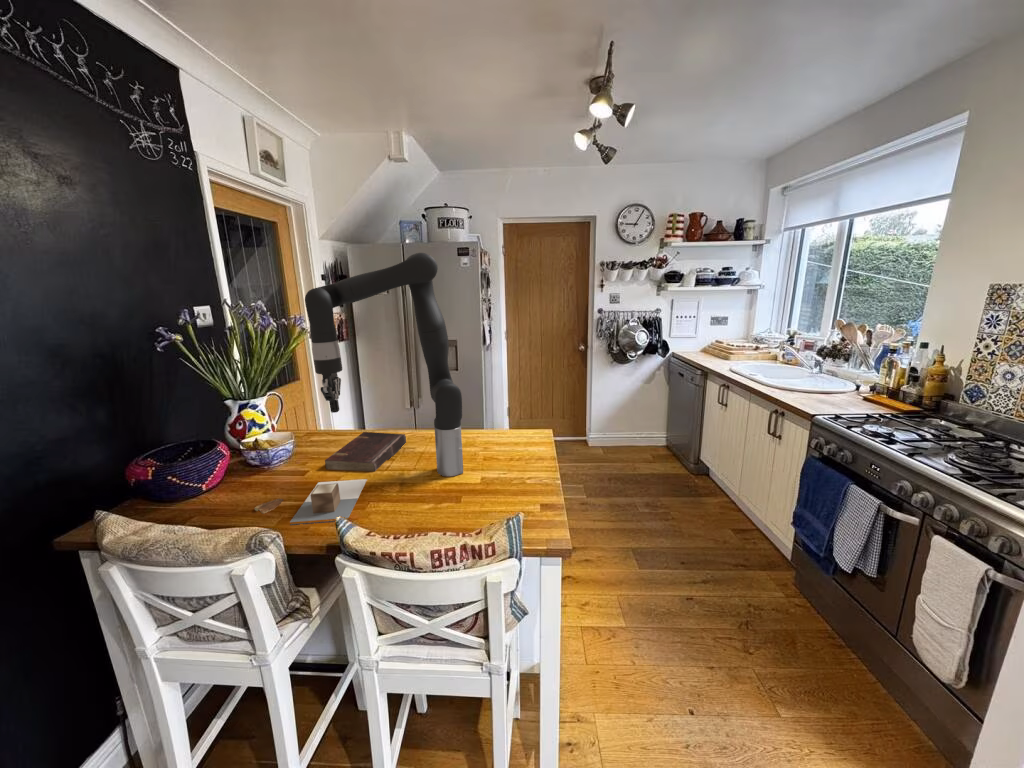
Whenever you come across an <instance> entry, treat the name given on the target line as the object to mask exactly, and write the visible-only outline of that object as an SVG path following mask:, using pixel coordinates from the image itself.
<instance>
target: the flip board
mask: <svg viewBox="0 0 1024 768" xmlns="http://www.w3.org/2000/svg"><path fill="white" fill-rule="evenodd" d="M367 481H368V479H367V478H366V479H365V478H364V479H350V480H337V481H335V480H333V481H320V482H319V481H318V482H317V484H316V485H315V487H314V488H313V490H314V489H315V488H316V486H317V485H322V484H337V483H338V486H339V494H340V503H339V505H338V506H337V508H336V510H335V512H323V513H313V508H312V502H311V493H312V492H313V490H311V492H310V493H309V495H308V496H307V498H306V499H305V500H304V501H303V503H302V504H301V506H300V507H299V508H298V510H297V511H296V513H294V516H293V517H292V518H291V520H290V521H289V523H290V524H289V526H300V524H303V525H310V524H311V525H312V524H314V523H315V524H326V523H336V522H335V521H336V520H337V519H336V517H339V516H342V517H345V518H344V519H348V518H349V517H350V515H351V514H352V512H353V509H354V508H355V506H356V503H357V502H358V499H359V497H360V495H361V493H362V490H363V489H364V487H365V485H366V483H367ZM334 519H335V520H334ZM326 520H327V521H326ZM309 521H310V522H309ZM312 521H313V522H312ZM297 522H299V523H297ZM300 522H302V523H300Z"/></svg>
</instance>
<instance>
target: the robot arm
mask: <svg viewBox="0 0 1024 768" xmlns="http://www.w3.org/2000/svg"><path fill="white" fill-rule="evenodd" d="M438 270H439V269H438V263H437V261H436V259H435V258H434V257H433V256H432V255H430V254H428V253H426V252H417V253H414V254H411V255H410V256H408V257H407V258H406V259H405V260H403V261H401V262H399V263H396V264H394V265H392V266H389V267H386V268H380V269H378V270H373V271H368V272H364V273H362V274H356V275H354V276H351V277H346V278H344V279H342V280H340V281H337V282H334V283H330V284H326V285H322V286H318V287H315V288H312V289H309V290H308V291H307V292H306V293H305V295H304V303H305V307H306V309H305V310H306V314H307V317H308V322H309V332H310V339H311V352H312V359H313V365H314V370H315V373H316V374H318V375H321V376H322V379H321V384H322V386H321V387H320V389H319V390H320V392H321V394H322V396H323V397H324V399H325V401H328V403H329V409H330V413H333V414H334V413H338V412H339V411H340V404H339V399H340V397H339V396H340V395H341V386H342V385H341V383H342V379H341V378H340V377H339V376H338V373H340V372H342V371H343V364H342V355H341V349H340V345H339V340H338V333H337V328H336V325H335V320H334V319H335V317H334V308H337V307H340V306H343V305H347V304H352V303H356V302H359V301H362V300H366V299H368V298H371V297H375V296H376V295H379V294H382V293H385V292H387V291H390V290H393V289H397V288H400V287H404V286H408V287H409V289H410V290H409V291H410V294H411V297H412V301H413V308H414V315H415V321H416V326H417V327H416V328H417V332H418V338H419V342H420V343H419V344H420V347H421V350H422V354H423V357H424V361H425V364H426V366H427V367H426V368H427V374H428V382H429V383H428V384H429V393H430V398H431V400H432V401H433V402H434V403H435V404H434V405H435V418H433V419H434V420H433V425H434V428H433V429H434V441H435V454H436V455H435V457H436V471H437V472H438V473H437V474H438V475H439V474H440V475H439V476H441V475H442V476H443V477H454V476H458V475H461V474H462V473H463V474H464V461H463V460H464V457H463V441H462V440H463V439H462V419H463V395H462V391H461V389H460V387H459V386H458V385H457V384H455V383H454V382H453V379H452V376H451V372H450V368H449V336H448V330H447V326H446V321H445V318H444V316H443V313H442V311H441V308H440V306H439V304H438V301H437V299H436V294H435V291H434V284H433V282H434V281H433V280H434V279H435V278H436V276H437V273H438Z"/></svg>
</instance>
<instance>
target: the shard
mask: <svg viewBox="0 0 1024 768" xmlns="http://www.w3.org/2000/svg"><path fill="white" fill-rule="evenodd" d="M283 502H285V501H284V498H277V499H273V500H270V501H267V502H263V503H260V504H258V505H256V506H255V507H254V511H255V512H258V511H260V513H261V514H267V513H268V512H271V511H273V510H275V509H276V508H277V507H279V506H280V505H281V504H282V503H283Z"/></svg>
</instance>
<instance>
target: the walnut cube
mask: <svg viewBox="0 0 1024 768" xmlns="http://www.w3.org/2000/svg"><path fill="white" fill-rule="evenodd" d="M316 485H317V484H316ZM316 485H315V487H316V488H315V487H314V488H315V489H314V488H313V489H314V490H312V491H313V492H312V491H311V492H312V493H311V492H310V493H311V502H312V508H313V513H323V512H335V510H336V508H337V506H338V505H339V503H340V494H339V486H338V483H337V484H322V485H317V486H316Z"/></svg>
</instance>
